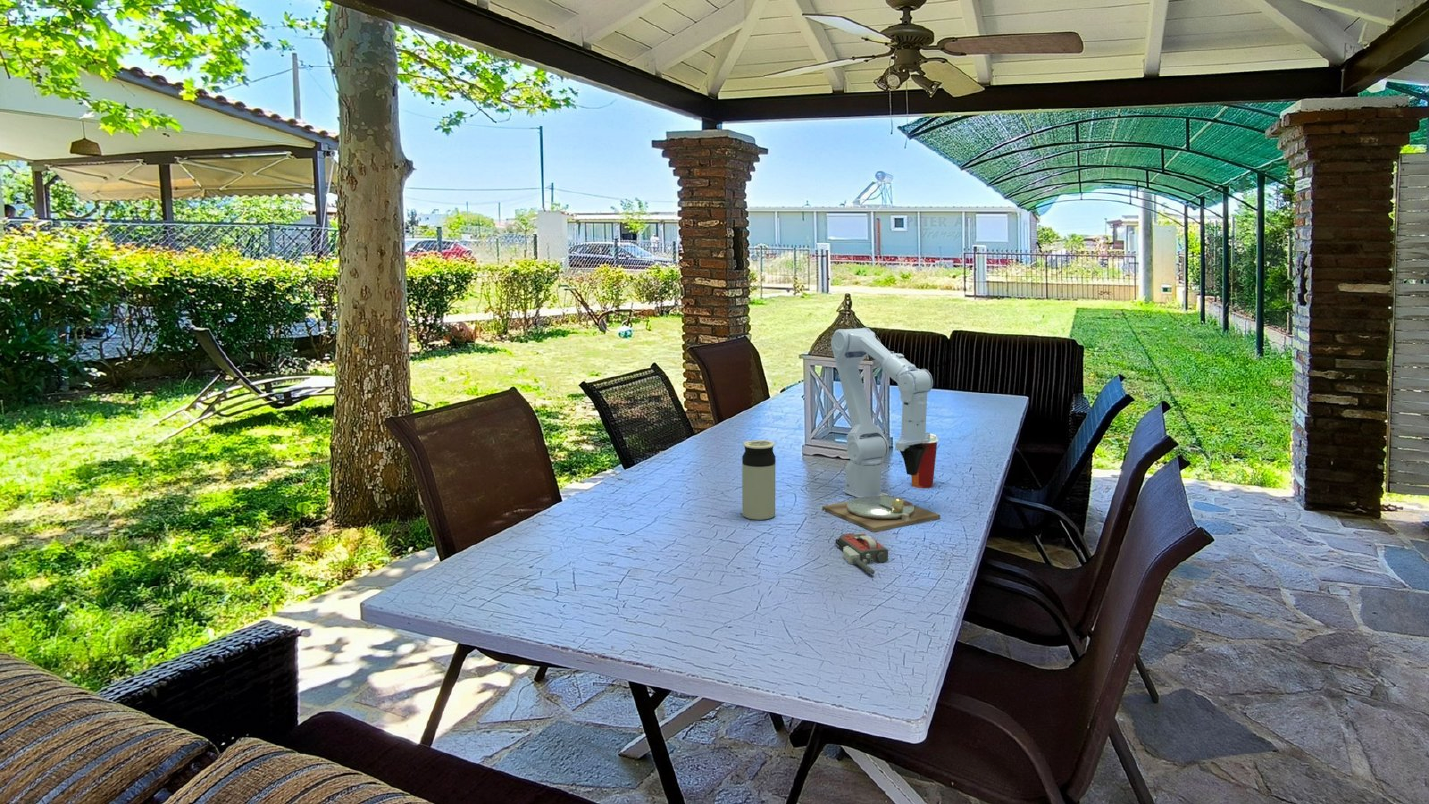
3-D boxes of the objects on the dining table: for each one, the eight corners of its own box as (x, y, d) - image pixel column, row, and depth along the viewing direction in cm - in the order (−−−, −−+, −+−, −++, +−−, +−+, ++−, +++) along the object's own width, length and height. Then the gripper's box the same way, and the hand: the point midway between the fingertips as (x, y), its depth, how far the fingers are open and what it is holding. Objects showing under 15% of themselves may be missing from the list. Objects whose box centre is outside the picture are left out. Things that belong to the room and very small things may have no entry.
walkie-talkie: (826, 547, 190) (867, 580, 171) (826, 528, 189) (868, 558, 170) (862, 543, 192) (907, 575, 173) (863, 524, 191) (908, 554, 173)
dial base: (822, 510, 216) (822, 500, 215) (885, 498, 225) (885, 489, 225) (874, 532, 198) (874, 522, 198) (940, 518, 208) (940, 509, 207)
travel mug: (781, 515, 212) (782, 443, 208) (760, 522, 206) (760, 448, 203) (756, 509, 217) (756, 438, 214) (735, 516, 211) (735, 443, 208)
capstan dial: (833, 505, 215) (834, 489, 214) (885, 496, 222) (885, 480, 221) (874, 522, 201) (874, 505, 200) (928, 512, 208) (928, 495, 207)
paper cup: (940, 484, 239) (942, 434, 236) (931, 490, 232) (933, 439, 230) (912, 480, 243) (914, 431, 240) (903, 486, 236) (904, 436, 234)
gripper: (915, 426, 202) (913, 483, 205) (942, 417, 213) (940, 471, 216) (888, 422, 207) (886, 478, 209) (916, 413, 218) (914, 466, 220)
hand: (911, 474), depth 213 cm, fingers closed
